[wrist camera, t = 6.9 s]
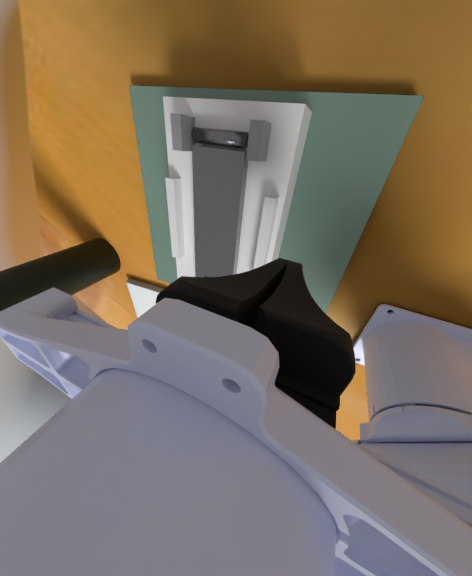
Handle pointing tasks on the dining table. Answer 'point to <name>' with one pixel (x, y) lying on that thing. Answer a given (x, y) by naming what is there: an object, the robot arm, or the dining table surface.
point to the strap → (218, 199)
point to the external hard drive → (142, 295)
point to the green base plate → (272, 172)
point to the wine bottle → (59, 272)
